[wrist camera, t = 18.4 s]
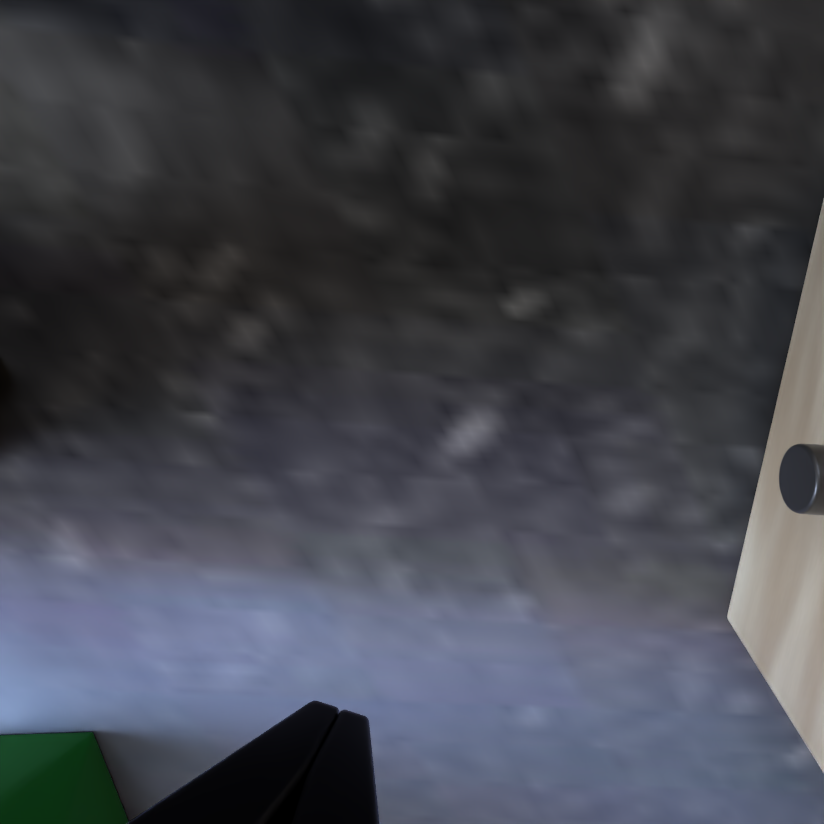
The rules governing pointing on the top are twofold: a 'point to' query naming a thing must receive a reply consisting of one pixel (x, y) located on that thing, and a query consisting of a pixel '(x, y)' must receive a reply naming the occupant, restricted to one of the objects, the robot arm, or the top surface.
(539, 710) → the top surface
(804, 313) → the drawer
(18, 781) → the soya milk
